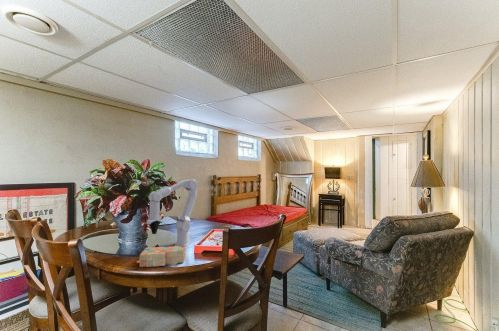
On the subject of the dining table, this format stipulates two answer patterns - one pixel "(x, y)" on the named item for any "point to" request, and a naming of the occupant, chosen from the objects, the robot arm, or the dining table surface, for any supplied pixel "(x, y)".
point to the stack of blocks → (162, 255)
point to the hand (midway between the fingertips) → (154, 233)
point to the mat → (166, 263)
